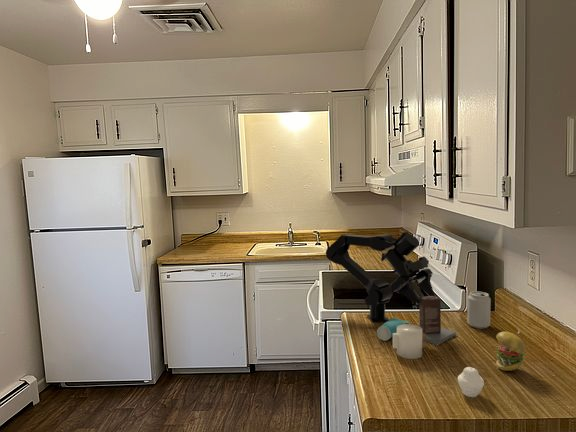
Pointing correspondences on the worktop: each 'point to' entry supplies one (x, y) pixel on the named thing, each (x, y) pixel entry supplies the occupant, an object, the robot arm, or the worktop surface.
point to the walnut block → (424, 340)
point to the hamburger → (509, 351)
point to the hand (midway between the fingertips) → (426, 299)
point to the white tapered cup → (408, 341)
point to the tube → (389, 328)
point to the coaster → (440, 336)
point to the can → (479, 309)
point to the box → (430, 314)
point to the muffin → (470, 382)
